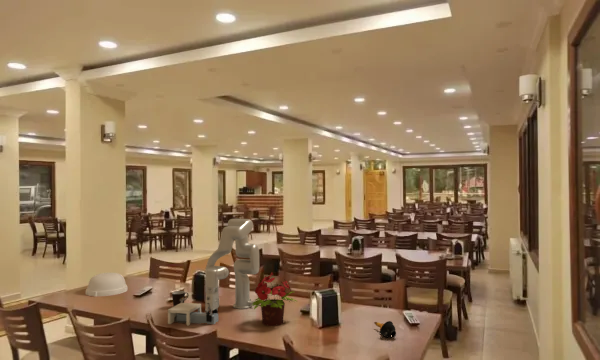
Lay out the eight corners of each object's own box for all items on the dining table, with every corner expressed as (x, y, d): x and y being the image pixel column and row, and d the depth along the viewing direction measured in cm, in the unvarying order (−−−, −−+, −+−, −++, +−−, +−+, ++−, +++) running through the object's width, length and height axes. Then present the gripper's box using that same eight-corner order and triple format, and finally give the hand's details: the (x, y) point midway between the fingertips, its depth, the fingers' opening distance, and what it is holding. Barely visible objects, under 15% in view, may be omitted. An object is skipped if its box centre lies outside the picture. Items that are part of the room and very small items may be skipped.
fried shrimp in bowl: (386, 332, 225) (364, 313, 240) (388, 347, 230) (366, 328, 245) (399, 323, 229) (377, 305, 243) (401, 338, 234) (379, 320, 248)
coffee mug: (173, 310, 286) (173, 294, 286) (170, 306, 293) (170, 291, 293) (191, 307, 291) (191, 292, 291) (188, 304, 299) (188, 289, 299)
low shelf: (201, 317, 269) (201, 303, 269) (188, 325, 254) (188, 311, 254) (181, 315, 272) (181, 302, 272) (167, 323, 257) (167, 309, 257)
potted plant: (267, 314, 275) (267, 266, 276) (304, 320, 262) (304, 270, 262) (237, 327, 250) (237, 274, 250) (277, 335, 236) (276, 279, 237)
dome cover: (100, 286, 355) (100, 269, 356) (135, 287, 352) (135, 269, 352) (76, 296, 324) (76, 277, 324) (113, 297, 320) (113, 278, 320)
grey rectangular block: (218, 321, 262) (218, 313, 262) (214, 324, 255) (213, 316, 255) (181, 318, 267) (181, 311, 267) (176, 321, 261) (176, 314, 261)
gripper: (211, 293, 250) (211, 324, 250) (223, 286, 267) (223, 315, 267) (199, 292, 252) (199, 323, 251) (212, 286, 269) (212, 314, 268)
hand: (212, 319), depth 259 cm, fingers open, 7 cm apart
